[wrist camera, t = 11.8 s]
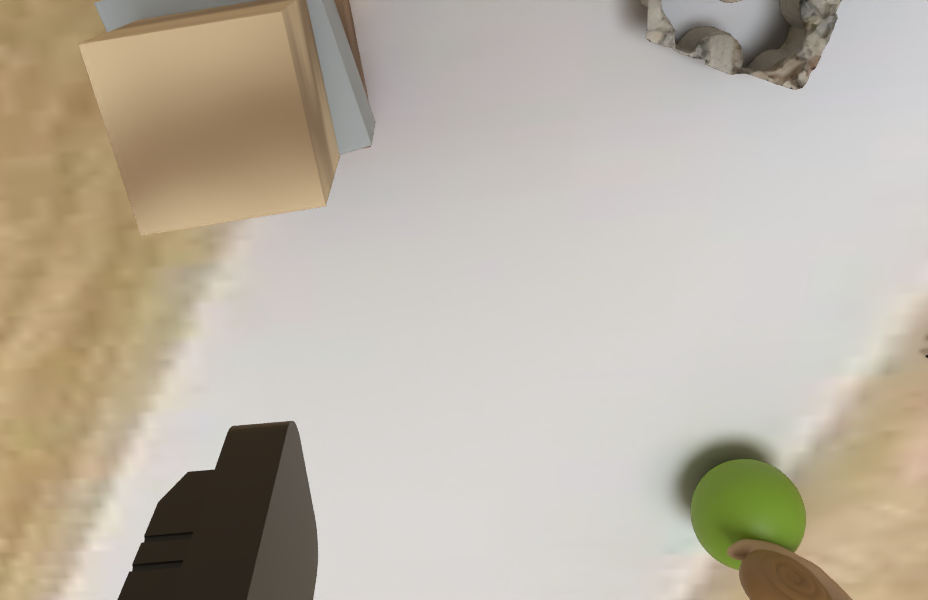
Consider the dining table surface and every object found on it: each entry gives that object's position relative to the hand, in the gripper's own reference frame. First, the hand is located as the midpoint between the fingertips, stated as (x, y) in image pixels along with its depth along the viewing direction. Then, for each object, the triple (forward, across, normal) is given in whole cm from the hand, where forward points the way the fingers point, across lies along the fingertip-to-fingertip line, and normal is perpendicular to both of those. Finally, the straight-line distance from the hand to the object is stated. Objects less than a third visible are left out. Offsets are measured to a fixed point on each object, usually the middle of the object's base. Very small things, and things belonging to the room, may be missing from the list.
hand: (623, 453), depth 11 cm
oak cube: (+21, +8, 0) cm, 23 cm away
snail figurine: (+27, -12, +23) cm, 38 cm away
